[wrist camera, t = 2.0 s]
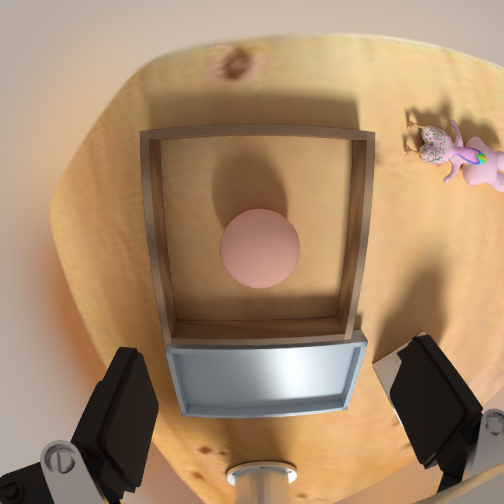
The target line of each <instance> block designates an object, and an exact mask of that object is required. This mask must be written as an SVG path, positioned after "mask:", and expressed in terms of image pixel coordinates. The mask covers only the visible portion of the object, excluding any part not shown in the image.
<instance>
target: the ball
mask: <svg viewBox="0 0 504 504" xmlns="http://www.w3.org/2000/svg"><path fill="white" fill-rule="evenodd" d="M299 252H300V244H299V239H298V236H297V233H296V231H295V229H294V227H293V226H292V224H291V223H290V222H289V221H288V220H287V219H286V218H285V217H284V216H282V215H281V214H279V213H277V212H274V211H271V210H267V209H252V210H248V211H245V212H243V213H241V214H239V215H238V216H236V217H235V218H234V219H233V220H232V221H231V222H230V223H229V224H228V225H227V227H226V228H225V231H224V233H223V235H222V238H221V243H220V254H221V259H222V262H223V264H224V267H225V268H226V270H227V272H228V273H229V274H230V275H231V276H232V277H233V278H234V279H235V280H236V281H238V282H239V283H241V284H243V285H245V286H248V287H252V288H268V287H272V286H275V285H277V284H279V283H280V282H282V281H284V280H285V279H286V278H287V277H288V276H289V275H290V274H291V273H292V271H293V270H294V268H295V266H296V264H297V262H298V258H299Z"/></svg>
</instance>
